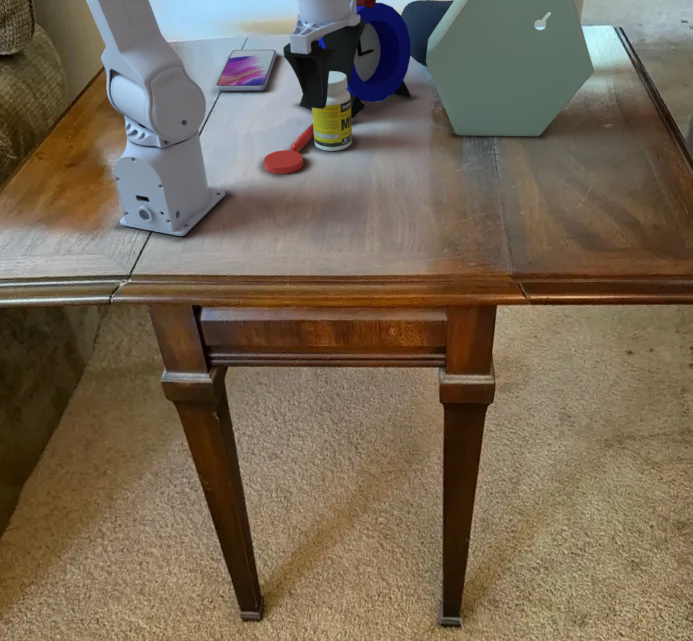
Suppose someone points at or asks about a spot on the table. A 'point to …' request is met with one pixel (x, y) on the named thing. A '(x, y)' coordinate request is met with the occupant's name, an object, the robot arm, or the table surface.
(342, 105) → the supplement bottle
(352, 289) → the table surface
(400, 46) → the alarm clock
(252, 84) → the smartphone
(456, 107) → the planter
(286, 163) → the red rod and disc
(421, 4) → the decorative stone
